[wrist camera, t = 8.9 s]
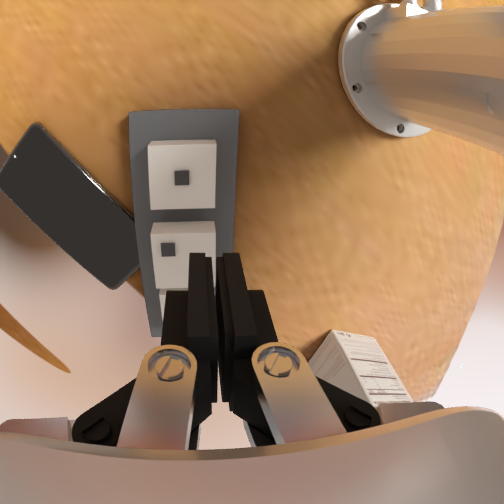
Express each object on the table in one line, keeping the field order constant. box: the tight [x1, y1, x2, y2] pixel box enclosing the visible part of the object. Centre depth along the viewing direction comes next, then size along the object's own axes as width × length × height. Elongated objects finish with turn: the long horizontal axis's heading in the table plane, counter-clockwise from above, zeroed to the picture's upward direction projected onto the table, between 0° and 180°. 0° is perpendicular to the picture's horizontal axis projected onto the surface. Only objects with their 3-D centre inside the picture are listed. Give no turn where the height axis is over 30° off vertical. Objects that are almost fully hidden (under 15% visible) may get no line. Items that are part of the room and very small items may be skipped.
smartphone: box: [0, 122, 140, 290], centre depth 24 cm, size 7×1×16 cm
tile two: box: [150, 221, 216, 289], centre depth 24 cm, size 5×5×2 cm
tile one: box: [148, 140, 217, 210], centre depth 22 cm, size 5×5×2 cm
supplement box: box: [308, 330, 413, 407], centre depth 33 cm, size 7×7×13 cm
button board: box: [129, 109, 240, 337], centre depth 26 cm, size 21×8×2 cm, turn 176°
